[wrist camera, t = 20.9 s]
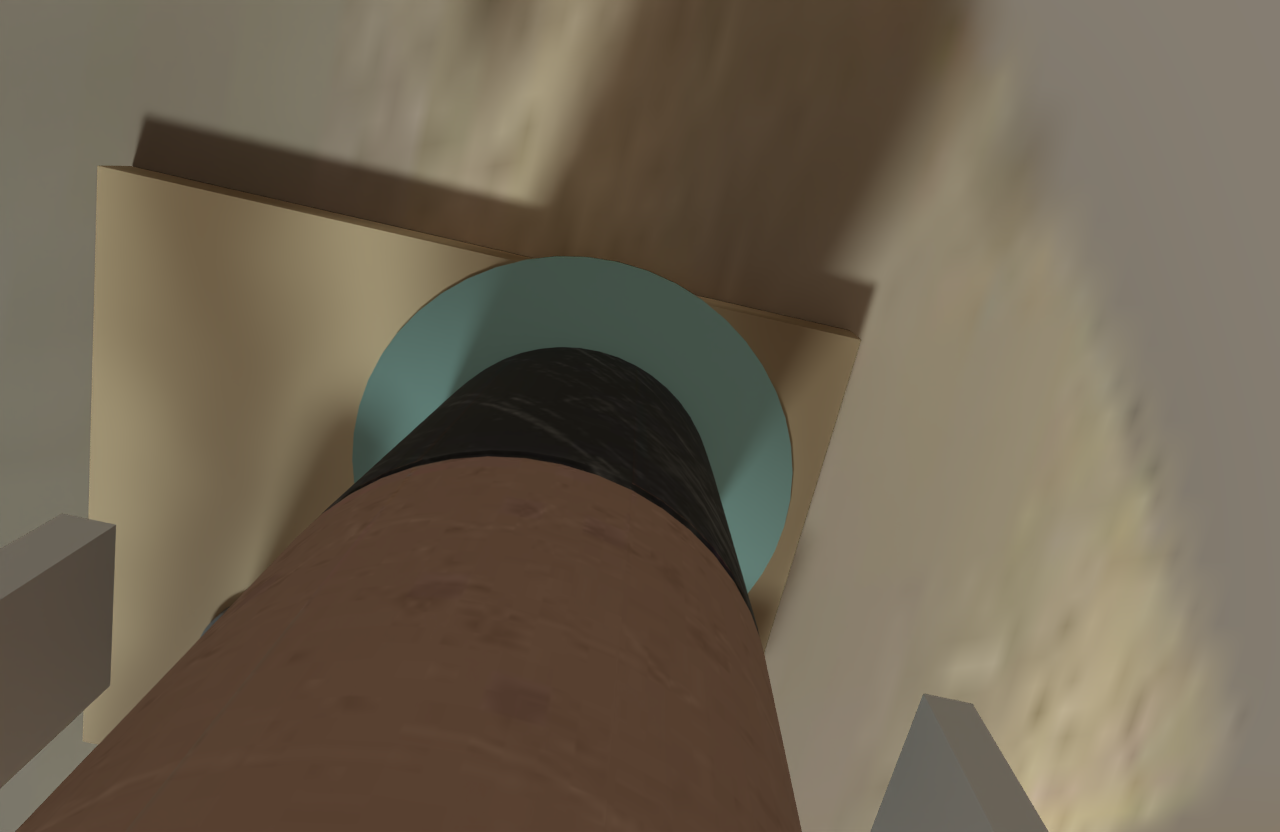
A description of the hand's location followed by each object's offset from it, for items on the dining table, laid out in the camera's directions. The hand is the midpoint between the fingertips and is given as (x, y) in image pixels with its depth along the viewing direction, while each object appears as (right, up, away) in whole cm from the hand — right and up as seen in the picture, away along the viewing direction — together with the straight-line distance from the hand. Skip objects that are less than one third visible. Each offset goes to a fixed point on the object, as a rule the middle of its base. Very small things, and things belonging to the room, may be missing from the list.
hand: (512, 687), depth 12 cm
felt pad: (0, +3, +8) cm, 9 cm away
